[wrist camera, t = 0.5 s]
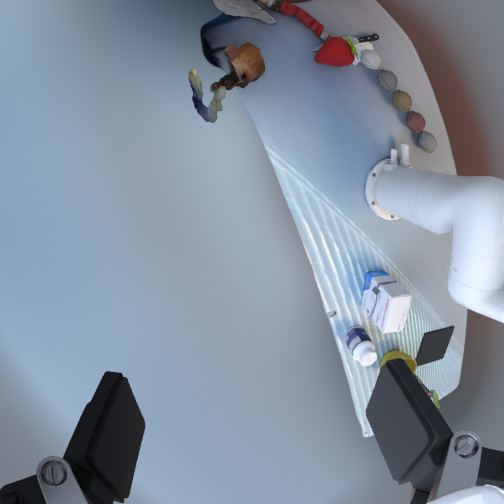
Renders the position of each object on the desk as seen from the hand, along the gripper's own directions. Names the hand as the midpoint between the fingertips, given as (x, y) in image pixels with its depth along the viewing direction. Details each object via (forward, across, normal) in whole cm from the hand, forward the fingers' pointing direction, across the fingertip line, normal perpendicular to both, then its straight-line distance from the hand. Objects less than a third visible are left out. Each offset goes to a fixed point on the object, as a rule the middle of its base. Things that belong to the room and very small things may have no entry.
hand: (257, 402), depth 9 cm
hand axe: (+43, -17, -32) cm, 56 cm away
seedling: (+45, -64, +66) cm, 103 cm away
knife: (+44, -20, -34) cm, 59 cm away
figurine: (+44, +6, -26) cm, 52 cm away
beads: (+44, -31, -20) cm, 58 cm away
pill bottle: (+45, -26, +31) cm, 61 cm away
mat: (+45, -55, +41) cm, 82 cm away
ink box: (+45, -29, +19) cm, 57 cm away
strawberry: (+44, -14, -27) cm, 53 cm away
